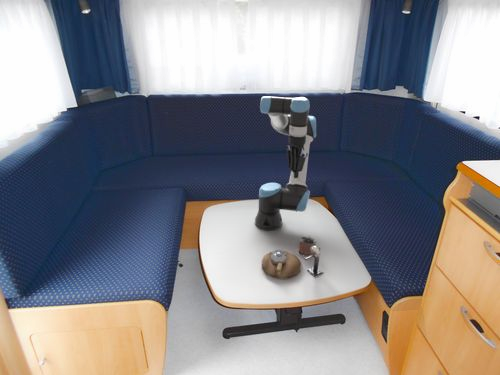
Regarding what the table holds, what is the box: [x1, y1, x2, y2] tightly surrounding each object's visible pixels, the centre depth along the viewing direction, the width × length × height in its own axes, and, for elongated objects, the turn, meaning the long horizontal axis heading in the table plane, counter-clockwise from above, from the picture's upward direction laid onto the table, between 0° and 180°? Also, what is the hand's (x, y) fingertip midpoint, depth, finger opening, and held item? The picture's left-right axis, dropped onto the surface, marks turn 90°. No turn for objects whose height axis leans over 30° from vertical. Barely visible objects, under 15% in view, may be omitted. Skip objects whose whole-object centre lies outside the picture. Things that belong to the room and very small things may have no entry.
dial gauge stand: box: [304, 245, 324, 278], centre depth 154 cm, size 5×8×14 cm, turn 123°
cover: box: [271, 249, 287, 266], centre depth 159 cm, size 7×7×5 cm
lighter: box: [297, 235, 317, 257], centre depth 167 cm, size 8×3×10 cm, turn 71°
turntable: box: [261, 250, 302, 280], centre depth 159 cm, size 18×18×5 cm
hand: (293, 183), depth 161 cm, fingers closed
